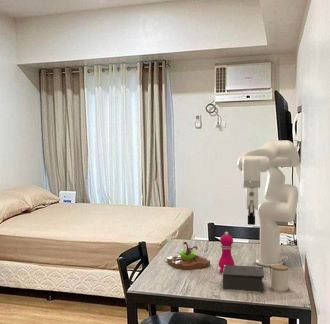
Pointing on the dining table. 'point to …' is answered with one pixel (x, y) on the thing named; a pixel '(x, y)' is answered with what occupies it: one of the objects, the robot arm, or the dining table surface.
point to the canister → (279, 277)
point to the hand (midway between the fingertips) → (251, 224)
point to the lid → (243, 271)
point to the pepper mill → (226, 251)
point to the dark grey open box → (242, 283)
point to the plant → (188, 259)
